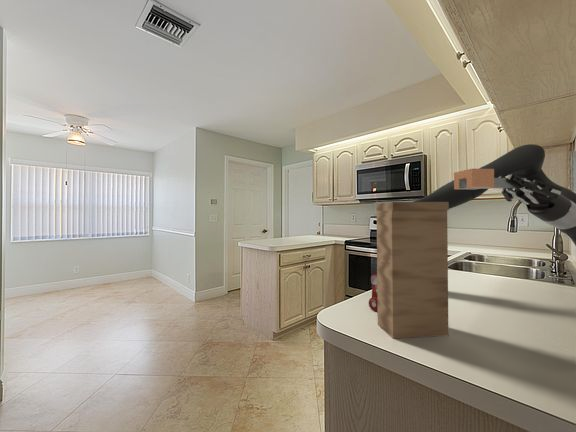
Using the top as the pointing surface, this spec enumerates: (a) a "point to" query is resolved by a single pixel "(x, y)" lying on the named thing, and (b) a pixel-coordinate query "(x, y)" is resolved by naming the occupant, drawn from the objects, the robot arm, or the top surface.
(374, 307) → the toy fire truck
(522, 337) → the top surface
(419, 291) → the walnut pedestal
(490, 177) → the orange and gray block
